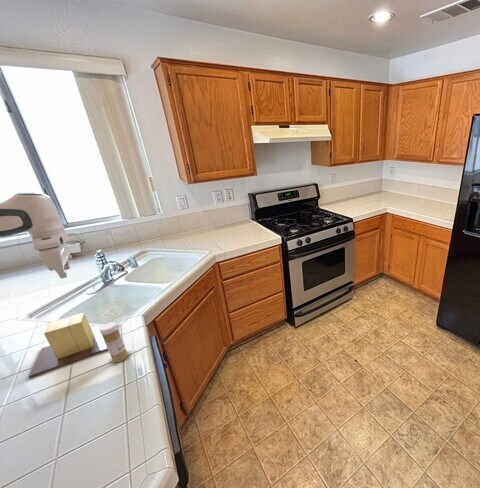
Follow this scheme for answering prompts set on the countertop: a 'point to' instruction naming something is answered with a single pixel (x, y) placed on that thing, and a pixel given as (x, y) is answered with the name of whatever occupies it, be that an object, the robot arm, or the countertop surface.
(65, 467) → the countertop surface
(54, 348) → the butter block
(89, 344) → the butter slice
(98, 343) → the walnut board
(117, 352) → the sprinkles bottle
